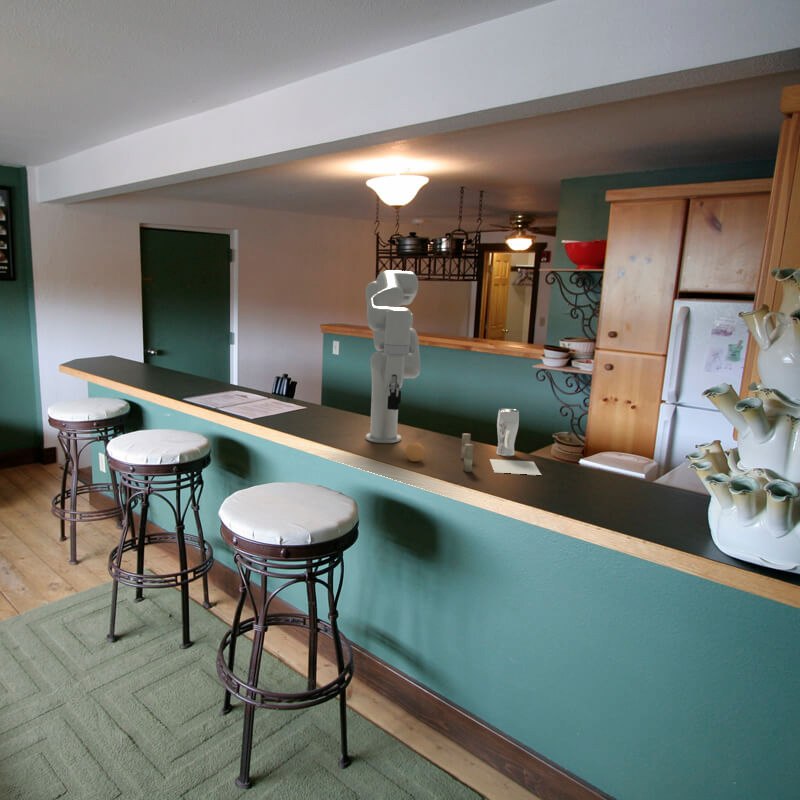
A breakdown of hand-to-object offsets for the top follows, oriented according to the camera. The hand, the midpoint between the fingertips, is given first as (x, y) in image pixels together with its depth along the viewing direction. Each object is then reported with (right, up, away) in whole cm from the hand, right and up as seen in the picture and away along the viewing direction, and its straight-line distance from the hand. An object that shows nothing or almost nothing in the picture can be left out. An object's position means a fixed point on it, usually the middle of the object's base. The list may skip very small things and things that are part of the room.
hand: (394, 406), depth 174 cm
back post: (+23, -17, +9) cm, 30 cm away
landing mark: (+37, -19, +2) cm, 42 cm away
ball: (+6, -14, +3) cm, 16 cm away
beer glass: (+37, -16, +17) cm, 44 cm away
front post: (+22, -19, -4) cm, 29 cm away
